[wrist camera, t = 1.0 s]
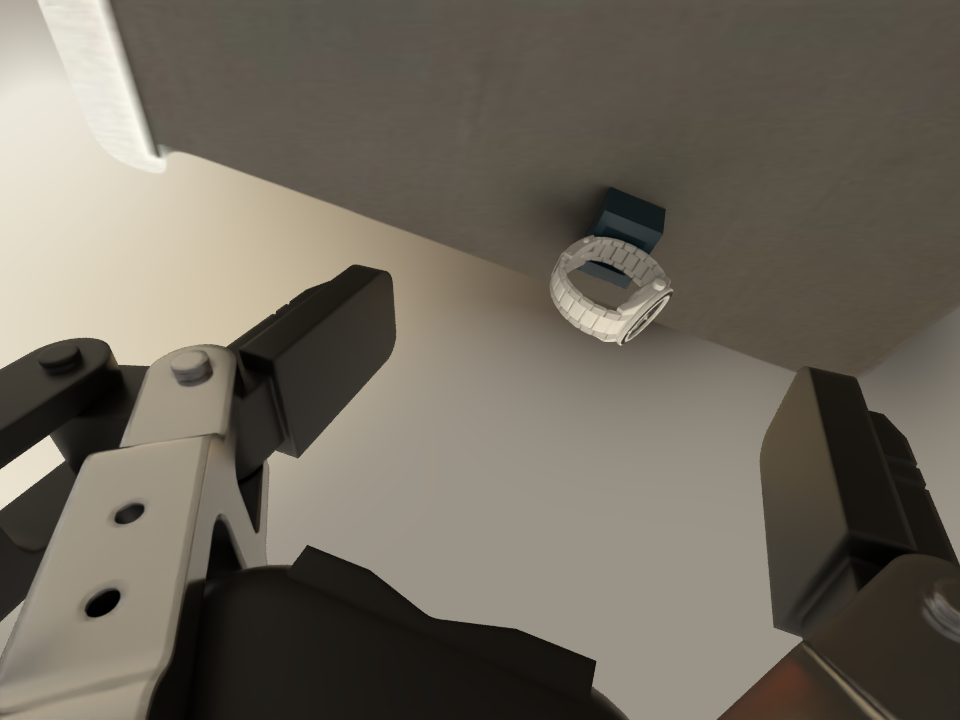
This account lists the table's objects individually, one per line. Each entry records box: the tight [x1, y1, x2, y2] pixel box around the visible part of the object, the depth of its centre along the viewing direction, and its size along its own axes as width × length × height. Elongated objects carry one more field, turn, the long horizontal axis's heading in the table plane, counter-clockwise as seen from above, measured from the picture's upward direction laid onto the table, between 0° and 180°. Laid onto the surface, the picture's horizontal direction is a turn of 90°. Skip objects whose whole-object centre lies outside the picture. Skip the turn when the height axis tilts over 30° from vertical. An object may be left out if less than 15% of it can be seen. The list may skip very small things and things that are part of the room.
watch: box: [550, 187, 673, 345], centre depth 36 cm, size 6×8×11 cm
